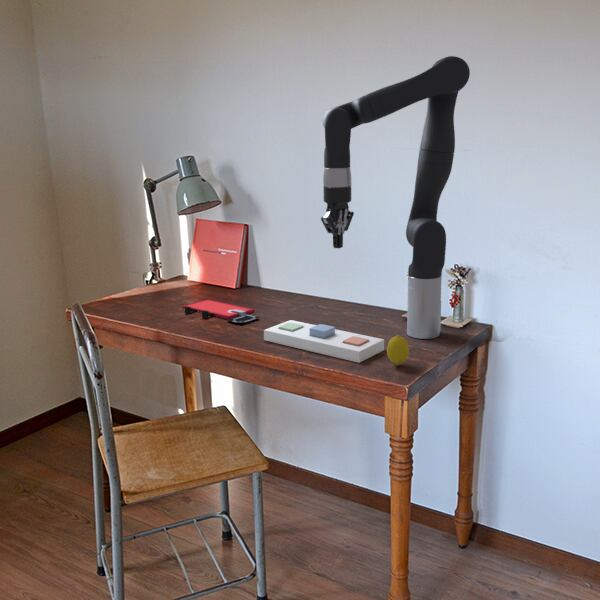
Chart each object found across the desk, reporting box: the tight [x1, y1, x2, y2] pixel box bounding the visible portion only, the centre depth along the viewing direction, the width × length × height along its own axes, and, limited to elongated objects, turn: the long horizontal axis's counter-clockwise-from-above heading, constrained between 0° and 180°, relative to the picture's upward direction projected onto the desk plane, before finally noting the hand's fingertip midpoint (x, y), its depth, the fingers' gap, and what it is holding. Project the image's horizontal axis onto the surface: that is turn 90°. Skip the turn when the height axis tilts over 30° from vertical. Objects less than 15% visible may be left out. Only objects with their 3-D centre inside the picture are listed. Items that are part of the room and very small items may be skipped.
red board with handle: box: [181, 299, 261, 324], centre depth 227 cm, size 30×3×15 cm
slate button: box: [309, 323, 336, 339], centre depth 194 cm, size 5×5×2 cm
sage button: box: [279, 323, 303, 332], centre depth 201 cm, size 5×5×2 cm
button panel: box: [263, 319, 385, 364], centre depth 195 cm, size 12×32×3 cm, turn 52°
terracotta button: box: [343, 336, 369, 347], centre depth 188 cm, size 5×5×2 cm
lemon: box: [386, 334, 410, 367], centre depth 178 cm, size 6×6×8 cm
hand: (337, 247), depth 196 cm, fingers closed
